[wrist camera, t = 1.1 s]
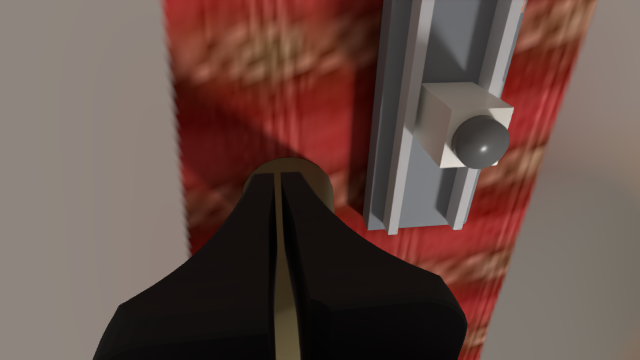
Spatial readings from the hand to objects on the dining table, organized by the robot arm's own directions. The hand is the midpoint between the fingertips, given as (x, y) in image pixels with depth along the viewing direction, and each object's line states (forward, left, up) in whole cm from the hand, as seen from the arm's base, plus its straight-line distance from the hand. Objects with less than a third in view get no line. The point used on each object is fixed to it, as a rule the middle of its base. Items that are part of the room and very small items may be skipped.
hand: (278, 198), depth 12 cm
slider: (-1, -10, -9) cm, 13 cm away
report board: (0, -10, -10) cm, 14 cm away
